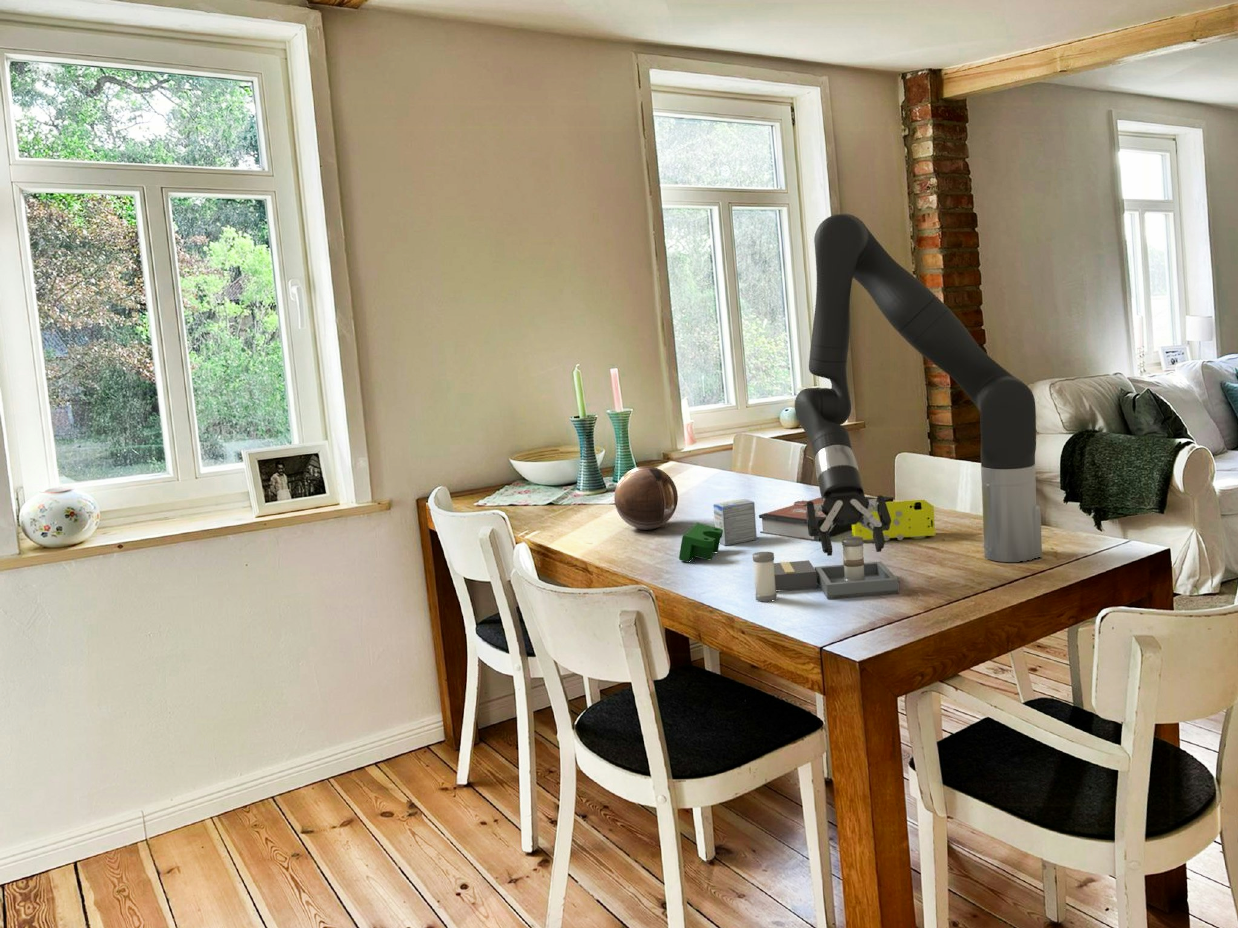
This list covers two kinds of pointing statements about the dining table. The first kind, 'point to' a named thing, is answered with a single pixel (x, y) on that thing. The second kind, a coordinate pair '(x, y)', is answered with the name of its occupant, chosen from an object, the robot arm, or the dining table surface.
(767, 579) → the fuse
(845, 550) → the ball
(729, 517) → the medicine box
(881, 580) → the parts tray
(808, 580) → the block
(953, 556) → the dining table surface
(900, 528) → the yellow toy chassis
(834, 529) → the book
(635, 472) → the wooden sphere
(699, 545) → the clamp
